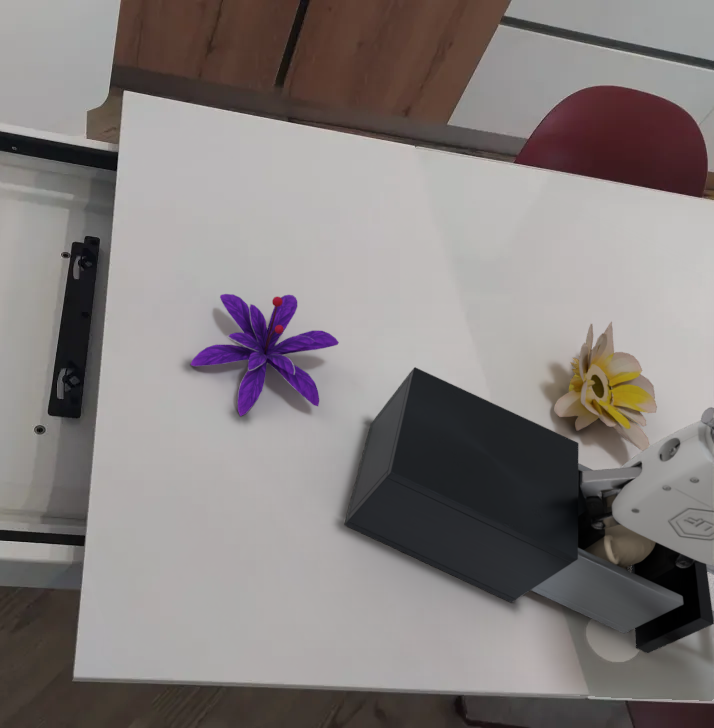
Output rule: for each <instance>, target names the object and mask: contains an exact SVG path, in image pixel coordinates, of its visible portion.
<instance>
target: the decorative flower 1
mask: <svg viewBox="0 0 714 728" xmlns="http://www.w3.org/2000/svg"><path fill="white" fill-rule="evenodd" d="M219 298H220V301H221V302H222V304H223V307H224V308H225V310H226V311H227V313H228V314H229V315H230V316H231V318H232V319H233V320H234V322H235V323H236V324H237V325H238V327H239V328H240V330H241V332H239V331H238V332H233V333H230V334H228V335H227V336H226V337H227V338H228V339H229V340H231V341H233V342H235V343H237V344H239V345H235V344H234V345H233V344H213V345H211V346H207V347H205V348H204V349H202V350H201V351H199V352H198V353H197V354H196V355H195V356H194V357H193V358H192V360H191V362H190V366H193V367H205V366H217V365H223V364H228V363H235V362H242V361H247V371H246V372H245V374H244V375H243V377H242V379H241V381H240V382H239V383H240V384H239V387H238V392H237V412H238V415H239V416H240V417H242V416H243V415H246V414H247V413H248V412H249V411H250V409H252V407H253V406H254V405H255V404H256V402H257V401H258V399H259V397H260V395H261V394H262V392H263V390H264V389H263V388H264V385H265V380H266V374H267V369H268V368H267V367H268V365H269V366H271V367H272V368H273V369H274V370H275V371H276V372H277V373H279V375H280V376H281V377H282V378H283V379H284V380H285V381H286V382H287V383H288V384H289V385H290V386H291V387H292V388H294V390H296V392H298V393H299V394H300V395H301V396H302V397H303V398H305V399H306V400H307V401H308V402H309V403H310V404H311V405H313V406H316V407H319V404H320V395H319V389H318V386H317V384H316V382H315V381H314V379H313V378H312V377H311V375H310V374H309V373H308V372H306V371H305V370H303V369H302V368H301V367H300V366H297V365H295V363H294V362H293V361H292V360H291V359H290V357H289V356H286V355H288V354H295V353H303V352H309V351H316V350H321V349H326V348H331V347H335V346H338V344H339V340H338V339H337V338H336V337H335V336H334V335H332V334H330V332H327V331H324V330H310V331H309V330H308V331H306V332H302V333H299V334H297V335H293V336H292V335H291V336H290V337H287V338H285V339H282V340H281V341H279V339H280V337H281V336H282V334H284V332H285V331H286V329H287V328H288V325H289V324H290V322H291V320H292V319H293V317H294V315H295V314H296V312H297V309H298V299H297V297H295V295H294V294H287V295H286V294H285V295H283V296H274V297H273V298H272V301H271V302H272V305H273V306H274V307H273V310H272V312H271V315H270V319H269V322H268V325H267V321H266V318H265V316H264V314H263V312H262V311H261V309H259V308H258V307H257V306H256V305H255V304H252V303H250V304H249V306H248V304H247V303H246V301H244V300H243V299H242V298H241V297H240V296H237V295H236V294H231V293H223V294H220V296H219ZM278 341H279V342H278ZM277 342H278V343H277Z"/></svg>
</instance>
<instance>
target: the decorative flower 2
mask: <svg viewBox="0 0 714 728" xmlns="http://www.w3.org/2000/svg"><path fill="white" fill-rule="evenodd" d="M613 331H614V330H613V321H612V320H611V321H610V323H609V324H608V325H607V327H606V328H605V330H604V332H602V333H601V334H600V335H599V336H598V337H597V340H596V341H595V345H594V346H593V342H594V328H593V323H590V325H589V328H588V330H587V333H586V338H585V342H584V343H582V345H581V347H580V351H579V355H578V358H576V357H571V359H572V360H573V361H574V362H571V361H570V362H569V363H570V364H571V366H572V367H573V368H571V370H572V372H573V373H574V375H573V376H572V378H571V379H570V381H569V385H568V392H566V393H565V394H563V395H562V396H561V397H560V398H558V399H557V400H556V403H555V404H554V409H553V410H554V413H555V414H556V415H557V416H559V417H560V418H567V417H576V419H575V422H574V426H575V430H576V431H577V432H578V431H580V430H582V429H584V428H587V427H588V426H590V425H591V424H593V423H594V422H596V421H597V420H598V419H599V420H600V421H601V422H603V423H604V424H605V425H606V426H607V427H608V428H609V427H612V428H613V429H614V430H615V431H616V432H617V433H618V434H619V435H620V436H622V437H623V438H624V439H625V440H626V441H627V442H629V443H630V444H631V445H633V446H635V447H636V448H637V449H639V450H640V451H641V452H642V451H644V450H645V449H647V448H648V447H650V446H651V445H650V439H649V437H648V436H647V434H646V432H645V431H644V430H643V428H641V427H646V426H647V419H646V418H645V416H644V415H643V414H642V413H645V414H646V413H647V414H656V413H657V410H658V405H657V402H656V400H655V399H656V393H655V388H654V387H655V386H654V385H653V383H652V382H651V381H650V379H649V378H647V377H646V376H644V375H643V374H641V373H642V371H643V368H642V365H641V363H640V361H639V360H638V359H637V358H636V356H635V355H633V354H630V353H629V352H628V353H627V352H623V351H615V346H614V344H615V343H614V332H613ZM635 422H636V423H635ZM639 425H640V426H641V427H640V426H639Z"/></svg>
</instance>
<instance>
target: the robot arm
mask: <svg viewBox="0 0 714 728" xmlns="http://www.w3.org/2000/svg"><path fill="white" fill-rule="evenodd" d="M580 487H581V490H582V493H583V495H584V497H585V499H586V505H587V508H588V509H587V510H586V511H585V512H583V513H582V514H581V515H579V516H578V548H580V549H582V550H585V549H586V548H588V547H589V546H591V545H592V544H594V543H595V542H597V541H598V540H600V539H601V538H603V537H604V535H605V529H606V528H610V527H613V526H616V525H620V524H621V525H622V526H624V527H626V528H628V529H630V530H632V531H634V532H636V533H638V534H640V535H642V536H644V537H646V538H648V539H650V540H653V541H655V542H656V543H655V546H654V548H653V550H652V551H651V553H650V554H649V555H648V556H647V557H646V558H645V559H644V560H642V561H641V562H639V563H636V564H634V568H635V574H636V575H638V576H640V577H643V578H645V579H647V580H649V581H651V580H653V579H655V578H656V577H658V576H660V575H662V574H663V573H665V572H667V571H669V570H670V569H672V568H674V566H677V567H679V568H689V567H690V566H691V565H692V564H693V563H705V564H709V565H714V407H712V406H709V407H708V408H706V409H705V410H704V411H703V413H702V415H701V417H700V420H698V421H696V422H694V423H691V424H689V425H686V426H684V427H683V428H680V429H679V430H676V431H674V432H673V433H670V434H669V435H667V436H666V437H663V438H661V439H660V440H658V441H656V442H655V443H653V444H652V445H649V447H648V448H647V449H645V450H644V451H642V450H641V451H640V452H639V453H637V454H636V455H635V456H634V457H632V458H631V459H629V460H627V461H626V462H625V463H624V464H622V465H621V466H620V467H616V468H604V469H592V470H590V471H582V472H581V473H580ZM614 489H615V490H614ZM602 490H612V491H609V492H606V493H603V492H602ZM610 506H612V511H611V512H608V510H607V507H610Z"/></svg>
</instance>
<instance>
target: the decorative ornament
mask: <svg viewBox="0 0 714 728" xmlns="http://www.w3.org/2000/svg"><path fill="white" fill-rule="evenodd" d="M655 543H656V542H655V541H653V540H650V539H648V538H646V537H644V536H642V535H640V534H638V533H636V532H634V531H632V530H630V529H628V528H626V527H624V526H622V525H616V526H613V527H610V528H606V529H605V535H604V537H603V538H601V539H600V540H598V541H597V542H595V543H594V544H592V545H591V546H589V547H588V548H586V549H585V550H584V551H587V552H589V553H591V554H593V555H595V556H597V557H599V558H602V559H604V560H606V561H608V562H610V563H612V564H615V565H617V566H619V567H621V568H623V569H625V570H627V571H628V567H632V565H634V564H636V563H639V562H641V561H642V560H644V559H645V558H646V557H647V556H648V555H649V554H650V553H651V551H652V550H653V548H654V546H655Z"/></svg>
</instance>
